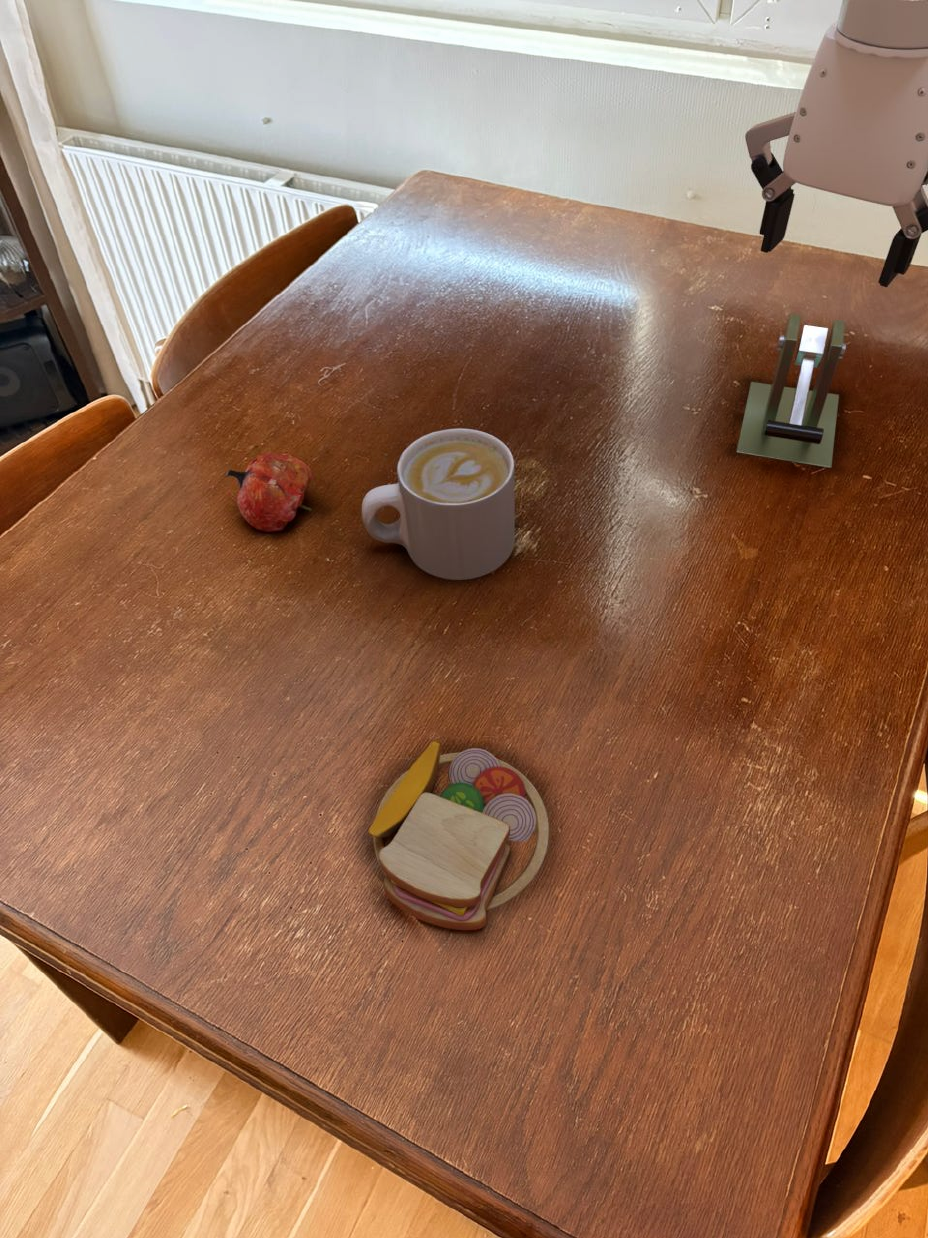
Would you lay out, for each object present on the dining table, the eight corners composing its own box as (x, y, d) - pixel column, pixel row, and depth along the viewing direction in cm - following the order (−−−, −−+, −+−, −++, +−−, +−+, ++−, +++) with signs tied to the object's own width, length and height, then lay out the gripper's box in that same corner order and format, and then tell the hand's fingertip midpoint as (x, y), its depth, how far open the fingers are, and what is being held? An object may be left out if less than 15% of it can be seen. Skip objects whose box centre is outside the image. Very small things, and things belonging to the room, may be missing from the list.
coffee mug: (516, 512, 86) (516, 428, 78) (512, 589, 80) (512, 506, 72) (378, 509, 87) (365, 427, 79) (364, 585, 81) (348, 503, 73)
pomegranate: (319, 506, 91) (229, 456, 87) (352, 471, 86) (257, 416, 82) (298, 563, 87) (203, 514, 83) (330, 531, 82) (230, 476, 78)
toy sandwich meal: (579, 809, 66) (583, 777, 62) (481, 969, 58) (479, 942, 55) (438, 734, 70) (433, 699, 67) (331, 873, 63) (320, 843, 60)
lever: (817, 449, 83) (823, 437, 80) (762, 440, 84) (765, 428, 82) (838, 344, 85) (844, 329, 83) (784, 337, 86) (788, 322, 84)
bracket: (828, 476, 87) (864, 373, 78) (734, 461, 89) (758, 358, 80) (836, 403, 94) (869, 301, 85) (748, 390, 97) (773, 289, 88)
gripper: (1057, 18, 57) (954, 271, 70) (797, -22, 64) (748, 215, 77) (1023, 55, 53) (921, 315, 66) (751, 8, 60) (708, 252, 73)
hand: (828, 261), depth 72 cm, fingers open, 9 cm apart
